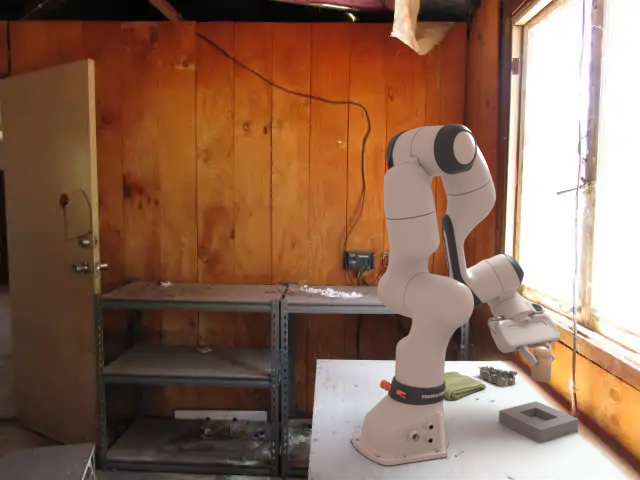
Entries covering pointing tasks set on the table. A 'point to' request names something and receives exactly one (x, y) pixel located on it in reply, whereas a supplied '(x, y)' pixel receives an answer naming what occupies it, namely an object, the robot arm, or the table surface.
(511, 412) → the grey square peg hole
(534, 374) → the peach dome-topped peg
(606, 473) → the table surface
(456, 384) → the washcloth
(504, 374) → the egg carton
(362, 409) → the table surface
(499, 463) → the table surface
